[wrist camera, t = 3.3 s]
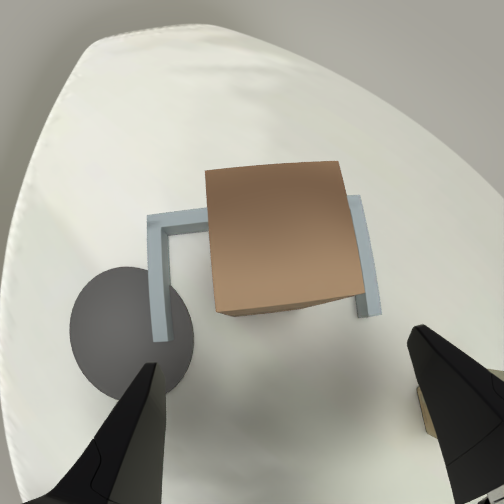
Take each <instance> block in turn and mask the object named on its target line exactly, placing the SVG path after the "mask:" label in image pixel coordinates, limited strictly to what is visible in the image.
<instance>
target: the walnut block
mask: <svg viewBox="0 0 504 504" xmlns="http://www.w3.org/2000/svg"><path fill="white" fill-rule="evenodd" d="M205 179H206V196H207V212H208V226H209V240H210V253H211V265H212V276H213V287H214V298H215V308H216V312H218V313H222V314H225V315H229V316H233V317H237V316H247V315H256V314H265V313H273V312H281V311H289V310H297V309H302V308H306V307H311V306H315V305H319V304H323V303H328V302H332V301H336V300H340V299H344V298H348V297H352V296H355V295H359V294H363V293H365V290H364V283H363V276H362V270H361V264H360V258H359V253H358V247H357V242H356V237H355V232H354V227H353V222H352V217H351V212H350V208H349V203H348V199H347V195H346V190H345V186H344V182H343V178H342V174H341V170H340V166H339V162H338V161H321V162H299V163H282V164H268V165H256V166H244V167H234V168H224V169H215V170H207V171H205Z"/></svg>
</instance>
